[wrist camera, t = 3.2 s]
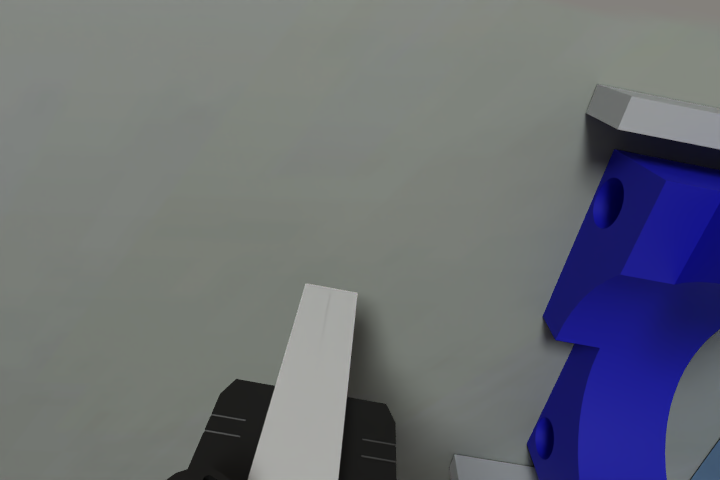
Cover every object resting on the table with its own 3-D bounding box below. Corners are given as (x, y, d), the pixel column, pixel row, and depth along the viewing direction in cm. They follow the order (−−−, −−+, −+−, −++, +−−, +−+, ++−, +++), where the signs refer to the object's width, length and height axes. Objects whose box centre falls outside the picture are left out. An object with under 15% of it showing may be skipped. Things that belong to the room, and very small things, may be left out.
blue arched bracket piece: (611, 147, 14) (755, 233, 9) (755, 175, 14) (981, 276, 9) (489, 434, 19) (532, 599, 14) (596, 452, 20) (679, 620, 14)
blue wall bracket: (449, 467, 20) (477, 657, 14) (597, 84, 13) (770, 145, 7) (700, 507, 20) (828, 707, 15) (967, 158, 14) (1404, 271, 8)
